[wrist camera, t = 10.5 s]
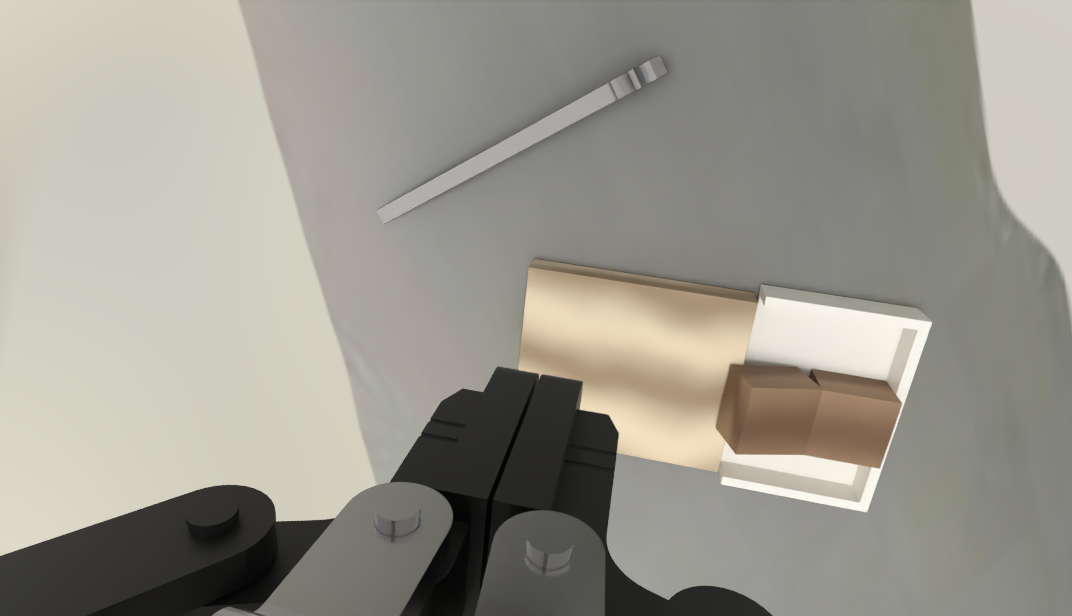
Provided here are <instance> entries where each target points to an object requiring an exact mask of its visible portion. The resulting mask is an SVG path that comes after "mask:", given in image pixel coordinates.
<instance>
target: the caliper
mask: <svg viewBox="0 0 1072 616" xmlns="http://www.w3.org/2000/svg"><path fill="white" fill-rule="evenodd" d="M666 73H667V70H666V68H665V66H664V64H663V61H662V59H661V57H660V56H657V57H655V58H653V59H651V60H649V61H647V62H645V63H644V64H642V65H640V66H638V67H636V68H634V69H632V70H630V71H628V72H627V73H625V74H623V75H621V76H619V77H617V78H616V79H614V80H612V81H610V82H609V83H607V84H605V85H603V86H602V87H600V88H598V89H596V90H594V91H593V92H591V93H589V94H587V95H585V96H583V97H582V98H580V99H578V100H576V101H574V102H573V103H571V104H569V105H567V106H565V107H563V108H562V109H560V110H558V111H556V112H554V113H553V114H551V115H549V116H547V117H545V118H543V119H542V120H540V121H538V122H536V123H535V124H533V125H531V126H529V127H527V128H526V129H524V130H522V131H520V132H518V133H516V134H515V135H513V136H511V137H509V138H507V139H506V140H504V141H502V142H500V143H498V144H496V145H495V146H493V147H491V148H489V149H487V150H486V151H484V152H482V153H480V154H478V155H476V156H475V157H473V158H471V159H469V160H467V161H466V162H464V163H462V164H460V165H458V166H456V167H455V168H453V169H451V170H449V171H447V172H445V173H444V174H442V175H440V176H438V177H436V178H435V179H433V180H431V181H429V182H427V183H425V184H424V185H422V186H420V187H418V188H416V189H415V190H413V191H411V192H409V193H407V194H405V195H404V196H402V197H400V198H398V199H396V200H395V201H393V202H391V203H389V204H387V205H385V206H384V207H382V208H380V209H378V210H377V211H376V212H377V213H378V215H379V217H380V219H381V220H382V222H383V224H384V223H386V222H388V221H390V220H392V219H394V218H396V217H398V216H400V215H401V214H403V213H405V212H407V211H409V210H411V209H413V208H415V207H417V206H418V205H420V204H422V203H424V202H426V201H428V200H430V199H432V198H433V197H435V196H437V195H439V194H441V193H443V192H445V191H447V190H448V189H450V188H452V187H454V186H456V185H458V184H460V183H462V182H464V181H465V180H467V179H469V178H471V177H473V176H475V175H477V174H479V173H480V172H482V171H484V170H486V169H488V168H490V167H492V166H494V165H495V164H497V163H499V162H501V161H503V160H505V159H507V158H509V157H511V156H512V155H514V154H516V153H518V152H520V151H522V150H524V149H526V148H527V147H529V146H531V145H533V144H535V143H537V142H539V141H541V140H542V139H544V138H546V137H548V136H550V135H552V134H554V133H556V132H558V131H560V130H561V129H563V128H565V127H567V126H569V125H571V124H573V123H575V122H576V121H578V120H580V119H582V118H584V117H586V116H588V115H590V114H591V113H593V112H595V111H597V110H599V109H601V108H603V107H605V106H607V105H608V104H610V103H612V102H614V101H616V100H618V99H620V98H622V97H624V96H626V95H627V94H629V93H631V92H633V91H635V90H637V89H639V88H641V87H643V86H644V85H646V84H648V83H650V82H652V81H653V80H655V79H657V78H659V77H661V76H662V75H664V74H666Z"/></svg>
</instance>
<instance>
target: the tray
mask: <svg viewBox="0 0 1072 616" xmlns="http://www.w3.org/2000/svg"><path fill="white" fill-rule="evenodd" d="M757 302H758V305H757V310H756V314H755V318H754V322H753V326H752V331H751V335H750V339H749V343H748V347H747V351H746V356H745V360H744V364H743V365H755V366H786V367H798V368H799V369H800V370H801V371H802V372H803V373H805V374H806V375H807V376H808V377H809V375H810V372H811V369H817V370H823V371H829V372H836V373H842V374H848V375H854V376H860V377H866V378H872V379H878V380H884V381H886V382H887V383H888V384H889V386H890V387H891V388H892V390H893V391H894V393H895V394H896V395H897V397H898V398H899V400H900V401H901V402H902V406H901V409H900V412H899V415H898V418H897V421H896V423H895V426H894V429H893V432H892V435H891V438H890V441H889V444H888V447H887V449H886V452H885V455H884V458H883V461H882V464H881V467H880V469H878V468H873V467H867V466H862V465H856V464H851V463H845V462H840V461H834V460H828V459H823V458H817V457H812V456H806V455H736V454H735V453H734V452H733V450H732V449H731V448H730V446H729V445H728V444H727V442H726V441H725V443H724V448H723V452H722V456H721V460H720V464H719V473H720V481H721V484H723V485H728V486H733V487H738V488H744V489H749V490H754V491H759V492H764V493H769V494H775V495H780V496H785V497H790V498H795V499H801V500H806V501H811V502H816V503H821V504H826V505H832V506H837V507H842V508H847V509H852V510H857V511H863V512H867V511H868V508H869V505H870V502H871V499H872V496H873V493H874V490H875V487H876V484H877V482H878V479H879V476H880V473H881V470H882V467H883V464H884V461H885V458H886V455H887V452H888V450H889V447H890V444H891V441H892V438H893V435H894V432H895V429H896V426H897V423H898V420H899V417H900V415H901V412H902V409H903V406H904V403H905V400H906V397H907V394H908V391H909V388H910V385H911V382H912V380H913V377H914V374H915V371H916V368H917V365H918V362H919V359H920V356H921V353H922V350H923V348H924V345H925V342H926V339H927V336H928V333H929V330H930V327H931V324H932V322H931V321H930V320H929V319H928V318H927V317H926V316H925V315H924V314H923V313H922V312H921V311H920V310H919V309H918V308H914V307H907V306H900V305H894V304H887V303H881V302H874V301H868V300H861V299H855V298H848V297H841V296H835V295H828V294H822V293H815V292H809V291H802V290H795V289H789V288H782V287H776V286H769V285H763V284H761V287H760V291H759V295H758V299H757Z"/></svg>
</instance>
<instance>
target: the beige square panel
mask: <svg viewBox="0 0 1072 616" xmlns="http://www.w3.org/2000/svg"><path fill="white" fill-rule="evenodd" d="M757 305H758V302H757V299H756V296H755V294H754V292H747V291H741V290H734V289H728V288H721V287H715V286H708V285H702V284H695V283H689V282H682V281H676V280H669V279H663V278H656V277H650V276H643V275H637V274H630V273H624V272H617V271H611V270H605V269H598V268H592V267H585V266H579V265H572V264H566V263H559V262H553V261H546V260H540V259H534V261H533V262H532V264H531V265H530V266H529V271H528V281H527V290H526V300H525V309H524V319H523V328H522V338H521V348H520V357H519V367H518V370H521V371H527V372H533V373H538V374H539V379H540V376H541V375H542V374H545V375H551V376H556V377H562V378H568V379H574V380H579V381H583V389H582V397H581V404H580V410H585V411H591V412H596V413H602V414H607V415H609V416H610V418H611V420H612V422H613V423H614V425H615V427H616V429H617V431H618V433H619V438H618V446H617V453H620V454H625V455H631V456H636V457H641V458H646V459H652V460H657V461H662V462H667V463H672V464H678V465H683V466H688V467H693V468H699V469H704V470H709V471H714V472H718V469H719V464H720V460H721V456H722V452H723V448H724V443H725V440H724V438H723V437H722V436H721V435H720V433H719V432H718V431H717V429H716V424H717V420H718V415H719V411H720V407H721V403H722V398H723V394H724V390H725V386H726V381H727V377H728V373H729V369H730V365H743V364H744V360H745V356H746V351H747V347H748V343H749V339H750V335H751V331H752V326H753V322H754V318H755V314H756V310H757Z"/></svg>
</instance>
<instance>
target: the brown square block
mask: <svg viewBox="0 0 1072 616" xmlns="http://www.w3.org/2000/svg"><path fill="white" fill-rule="evenodd" d="M822 392H823V389H822V388H821V387H820V386H818V385H817V384H816V383H815V382H814V381H813V380H811V379H810V378H809V377H808V376H807V375H806V374H805V373H803V372H802V371H801V370H800V369H799V368H798V367H786V366H755V365H730V369H729V373H728V377H727V381H726V386H725V390H724V394H723V398H722V403H721V407H720V411H719V415H718V420H717V424H716V429H717V431H718V432H719V433H720V435H721V436H722V437H723V438H724V440H725V441H726V442H727V444H728V445H729V446H730V448H731V449H732V450H733V452H734V453H735V454H736V455H804V453H805V450H806V446H807V443H808V440H809V436H810V433H811V429H812V426H813V422H814V419H815V416H816V412H817V409H818V405H819V402H820V399H821V395H822Z"/></svg>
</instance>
